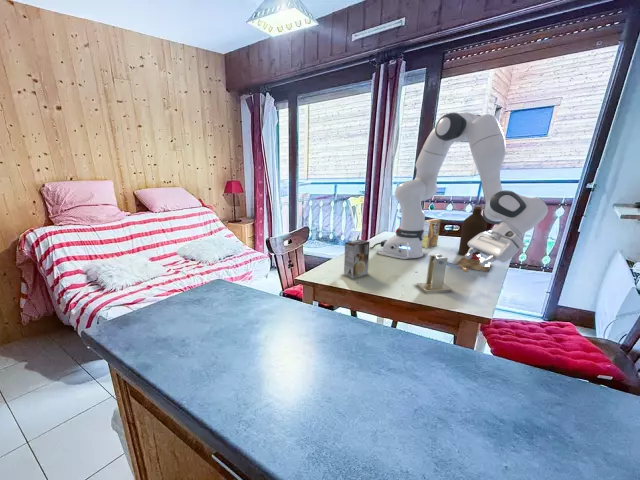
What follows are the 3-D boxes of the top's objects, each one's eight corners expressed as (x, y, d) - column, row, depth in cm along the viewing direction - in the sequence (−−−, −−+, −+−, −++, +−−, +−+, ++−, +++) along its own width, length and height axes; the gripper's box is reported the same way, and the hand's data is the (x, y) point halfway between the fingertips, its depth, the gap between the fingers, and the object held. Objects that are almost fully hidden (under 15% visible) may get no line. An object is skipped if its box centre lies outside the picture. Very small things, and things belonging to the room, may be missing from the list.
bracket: (440, 284, 137) (446, 252, 131) (451, 291, 129) (457, 258, 124) (416, 285, 137) (421, 254, 132) (425, 293, 130) (430, 260, 124)
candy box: (430, 244, 193) (434, 218, 187) (437, 245, 189) (441, 219, 183) (420, 246, 189) (424, 220, 183) (426, 248, 186) (430, 221, 180)
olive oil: (468, 258, 166) (478, 208, 156) (452, 252, 175) (460, 205, 166) (485, 255, 168) (496, 206, 158) (469, 250, 177) (478, 203, 168)
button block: (457, 267, 154) (459, 259, 153) (461, 261, 161) (462, 253, 160) (487, 271, 147) (489, 263, 146) (490, 265, 154) (492, 257, 153)
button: (470, 259, 153) (471, 255, 152) (471, 257, 155) (472, 253, 155) (479, 260, 151) (480, 256, 150) (480, 258, 153) (481, 255, 153)
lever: (458, 269, 133) (461, 263, 132) (466, 273, 128) (470, 268, 127) (429, 260, 131) (432, 255, 131) (436, 264, 126) (439, 259, 125)
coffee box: (357, 271, 157) (360, 239, 151) (367, 275, 152) (370, 241, 145) (343, 275, 153) (344, 242, 147) (352, 279, 148) (354, 245, 142)
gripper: (482, 224, 133) (453, 249, 137) (519, 236, 115) (485, 264, 118) (490, 234, 135) (462, 258, 139) (528, 247, 116) (495, 274, 120)
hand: (473, 261), depth 129 cm, fingers open, 8 cm apart
